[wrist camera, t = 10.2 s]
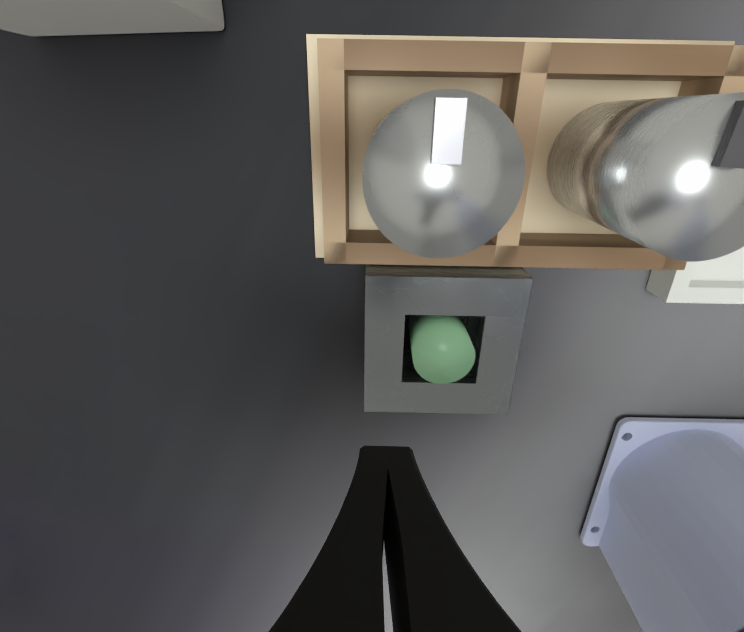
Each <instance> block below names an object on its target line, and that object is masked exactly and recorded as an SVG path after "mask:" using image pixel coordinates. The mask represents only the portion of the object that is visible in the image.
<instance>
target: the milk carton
mask: <svg viewBox="0 0 744 632" xmlns="http://www.w3.org/2000/svg"><path fill="white" fill-rule="evenodd" d="M0 29H2V30H6V31H10V32H14V33H18V34H23V35H27V36H63V35H97V34H131V33H164V32H198V31H222V30H223V29H224V15H223V7H222V0H0Z"/></svg>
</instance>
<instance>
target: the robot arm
mask: <svg viewBox="0 0 744 632" xmlns="http://www.w3.org/2000/svg"><path fill="white" fill-rule="evenodd" d="M625 433H627V434H626V435H624V434H625ZM580 539H581V541H582V543H583V544H584V545H586V546H599V547H600V549H601V551H602V553H603V555H604V557H605V559H606V561H607V563H608V565H609V567H610V569H611V571H612V573H613V574H614V576H615V578H616V580H617V582H618V584H619V586H620V588H621V590H622V592H623V594H624V596H625V598H626V600H627V602H628V603H629V605H630V607H631V609H632V611H633V613H634V615H635V617H636V619H637V621H638V623H639V625H640V627H641V629H642V631H643V632H744V420H743V419H693V418H642V417H627V418H623V419H621V420H620V421H619V422H618V423H617V425H616V428H615V431H614V434H613V437H612V440H611V443H610V446H609V449H608V453H607V456H606V459H605V462H604V465H603V468H602V471H601V474H600V477H599V480H598V483H597V486H596V489H595V492H594V495H593V498H592V502H591V505H590V508H589V511H588V514H587V517H586V520H585V523H584V526H583V529H582V532H581V535H580ZM383 543H384V544H385V554H386V564H387V574H388V584H389V593H390V603H391V613H392V622H393V632H521V631H520V629H519V628H518V627H517V626H516V625H515V623H514V622H513V621H512V620H511V618H510V617H509V616H508V615H507V613H506V612H505V611H504V610H503V609H502V607H501V606H500V605H499V604H498V602H497V601H496V600H495V598H494V597H493V595H492V594H491V593H490V591H489V590H488V589H487V587H486V586H485V585H484V583H483V582H482V580H481V579H480V578H479V576H478V575H477V573H476V572H475V570H474V569H473V567H472V566H471V564H470V563H469V561H468V560H467V558H466V557H465V555H464V554H463V552H462V551H461V549H460V547H459V546H458V544H457V542H456V541H455V539H454V537H453V536H452V534H451V532H450V531H449V529H448V527H447V526H446V524H445V522H444V520H443V518H442V517H441V515H440V513H439V511H438V509H437V507H436V505H435V503H434V501H433V499H432V497H431V495H430V493H429V491H428V489H427V487H426V485H425V482H424V480H423V478H422V476H421V473H420V471H419V468H418V466H417V463H416V460H415V457H414V454H413V451H412V450H411V449H410V448H409V447H394V446H363V447H362V448H361V449H360V453H359V459H358V463H357V467H356V470H355V474H354V477H353V480H352V483H351V486H350V488H349V491H348V493H347V496H346V498H345V501H344V503H343V506H342V508H341V510H340V513H339V515H338V517H337V519H336V521H335V523H334V525H333V527H332V529H331V531H330V533H329V535H328V538H327V540H326V541H325V543H324V545H323V547H322V549H321V551H320V553H319V554H318V556H317V558H316V560H315V562H314V563H313V565H312V567H311V568H310V570H309V572H308V574H307V575H306V577H305V579H304V580H303V582H302V583H301V585H300V586H299V588H298V590H297V591H296V593H295V594H294V596H293V597H292V599H291V601H290V602H289V604H288V605H287V607H286V608H285V610H284V611H283V613H282V614H281V615H280V617H279V618H278V620H277V621H276V622H275V624H274V625H273V626H272V628H271V629H270V631H269V632H385V631H384V604H383V573H382V556H383Z"/></svg>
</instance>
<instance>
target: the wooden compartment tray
mask: <svg viewBox="0 0 744 632" xmlns="http://www.w3.org/2000/svg"><path fill="white" fill-rule="evenodd" d="M306 38H307V62H308V86H309V109H310V133H311V157H312V181H313V204H314V228H315V252H316V257H318V258H324V263H326V264H380V265H434V266H488V267H542V268H596V269H650V270H684V269H685V266H686V263H687V262H686V261H679V260H675V259H671V258H668V257H666V256H664V255H661V254H659V253H657V252H655V251H653V250H651V249H649V248H647V247H645V246H643V245H641V244H638V243H636V242H634V241H632V240H630V239H628V238H626V237H624V236H622V235H620V234H618V233H616V232H613V231H611V230H609V229H607V228H605V227H603V226H601V225H599V224H597V223H595V222H593V221H591V220H588V219H586V218H584V217H582V216H580V215H578V214H576V213H574V212H572V211H570V210H568V209H566V208H565V207H563V206H562V205H561V204H560V203H559V202H558V201H557V200H556V199H555V197H554V196H553V194H552V192H551V190H550V187H549V184H548V180H547V162H548V156H549V153H550V150H551V147H552V145H553V143H554V141H555V139H556V137H557V135H558V134H559V133H560V131H561V130H562V128H563V127H564V126H565V125H566V124H567V123H568V122H569V121H570V120H571V119H572V118H573V117H574V116H576V115H577V114H578V113H580V112H581V111H583V110H585V109H587V108H589V107H591V106H593V105H596V104H600V103H603V102H611V101H625V100H639V99H653V98H667V97H681V96H695V95H709V94H723V93H737V92H744V45H734V43H735V41H692V40H632V39H572V38H511V37H451V36H391V35H330V34H306ZM437 89H462V90H466V91H470V92H474V93H476V94H479V95H481V96H483V97H485V98H487V99H488V100H490V101H492V102H493V103H494V104H496V105H497V106H498V107H499V108H500V109H502V111H503V112H504V113H505V114H506V115H507V116H508V117H509V119H510V120H511V122H512V123H513V125H514V126H515V128H516V130H517V132H518V134H519V137H520V140H521V143H522V146H523V150H524V156H525V179H524V185H523V189H522V193H521V196H520V199H519V202H518V204H517V206H516V208H515V210H514V212H513V214H512V215H511V217H510V219H509V220H508V222H507V223H506V224H505V225H504V227H503V228H502V229H501V230H500V231H499V232H498V233H497V234H496V235H495V236H494V237H493V238H492V239H490V240H489V241H488V242H486V243H485V244H483V245H482V246H480V247H478V248H477V249H475V250H472V251H470V252H468V253H465V254H462V255H459V256H455V257H449V258H427V257H422V256H417V255H415V254H412V253H409V252H407V251H405V250H403V249H401V248H399V247H398V246H396V245H395V244H393V243H392V242H391V241H390V240H388V239H387V238H386V237H385V236H384V235H383V234H382V232H381V231H380V230H379V229H378V228H377V226H376V224H375V223H374V221H373V220H372V218H371V216H370V214H369V211H368V209H367V206H366V203H365V199H364V194H363V185H362V174H363V165H364V160H365V155H366V152H367V149H368V146H369V143H370V140H371V137H372V135H373V133H374V130H375V129H376V127H377V125H378V124H379V122H380V121H381V120H382V119H383V118H384V117H385V116H386V115H387V114H388V113H389V112H390V111H392V110H393V109H394V108H396V107H397V106H399V105H400V104H402V103H404V102H405V101H407V100H409V99H411V98H413V97H415V96H417V95H419V94H422V93H425V92H428V91H433V90H437Z"/></svg>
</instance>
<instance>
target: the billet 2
mask: <svg viewBox="0 0 744 632" xmlns="http://www.w3.org/2000/svg"><path fill="white" fill-rule="evenodd" d="M547 180H548V184H549V187H550V190H551V192H552V194H553V196H554V197H555V199H556V200H557V201H558V202H559V203H560V204H561V205H562V206H563V207H565V208H566V209H568V210H570V211H572V212H574V213H576V214H578V215H580V216H582V217H584V218H586V219H588V220H591V221H593V222H595V223H597V224H599V225H601V226H603V227H605V228H607V229H609V230H611V231H613V232H616V233H618V234H620V235H622V236H624V237H626V238H628V239H630V240H632V241H634V242H636V243H638V244H641V245H643V246H645V247H647V248H649V249H651V250H653V251H655V252H657V253H659V254H661V255H664V256H666V257H668V258H671V259H675V260H679V261H686V262H697V261H706V260H711V259H715V258H719V257H722V256H725V255H728V254H730V253H732V252H734V251H737V250H739V249H740V248H742V247H744V92H737V93H723V94H709V95H695V96H681V97H667V98H653V99H639V100H625V101H611V102H603V103H600V104H596V105H593V106H591V107H589V108H587V109H585V110H583V111H581V112H580V113H578V114H577V115H576V116H574V117H573V118H572V119H571V120H570V121H569V122H568V123H567V124H566V125H565V126H564V127H563V128H562V130H561V131H560V133H559V134H558V135H557V137H556V139H555V141H554V143H553V145H552V147H551V150H550V153H549V156H548V162H547Z"/></svg>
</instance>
